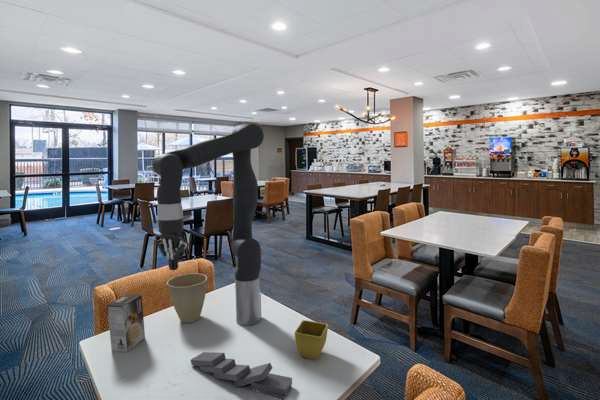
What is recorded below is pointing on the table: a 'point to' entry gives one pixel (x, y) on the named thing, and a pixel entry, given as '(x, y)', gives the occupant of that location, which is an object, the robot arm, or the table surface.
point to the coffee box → (126, 322)
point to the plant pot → (188, 295)
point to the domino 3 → (233, 373)
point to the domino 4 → (254, 375)
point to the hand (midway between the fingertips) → (173, 269)
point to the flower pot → (311, 338)
